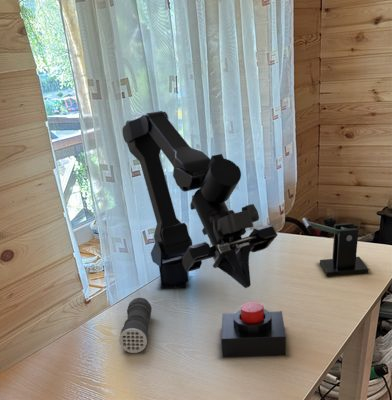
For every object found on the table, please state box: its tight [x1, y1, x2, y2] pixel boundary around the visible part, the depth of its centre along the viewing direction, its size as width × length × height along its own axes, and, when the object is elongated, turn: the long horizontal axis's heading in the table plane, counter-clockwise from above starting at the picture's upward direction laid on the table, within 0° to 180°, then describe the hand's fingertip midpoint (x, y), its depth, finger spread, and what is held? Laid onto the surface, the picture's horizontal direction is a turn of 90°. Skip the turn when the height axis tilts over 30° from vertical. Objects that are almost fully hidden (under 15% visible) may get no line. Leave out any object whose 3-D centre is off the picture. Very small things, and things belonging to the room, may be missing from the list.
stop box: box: [220, 308, 287, 358], centre depth 101 cm, size 12×10×6 cm
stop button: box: [240, 301, 265, 323], centre depth 99 cm, size 4×4×2 cm
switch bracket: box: [319, 222, 369, 278], centre depth 126 cm, size 10×8×11 cm
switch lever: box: [301, 217, 349, 235], centre depth 123 cm, size 12×6×2 cm, turn 92°
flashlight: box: [118, 297, 152, 354], centre depth 108 cm, size 15×5×5 cm, turn 0°
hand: (248, 286), depth 97 cm, fingers closed
